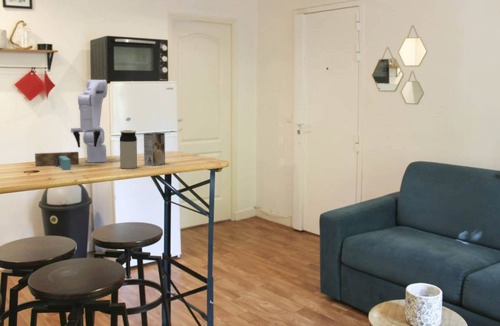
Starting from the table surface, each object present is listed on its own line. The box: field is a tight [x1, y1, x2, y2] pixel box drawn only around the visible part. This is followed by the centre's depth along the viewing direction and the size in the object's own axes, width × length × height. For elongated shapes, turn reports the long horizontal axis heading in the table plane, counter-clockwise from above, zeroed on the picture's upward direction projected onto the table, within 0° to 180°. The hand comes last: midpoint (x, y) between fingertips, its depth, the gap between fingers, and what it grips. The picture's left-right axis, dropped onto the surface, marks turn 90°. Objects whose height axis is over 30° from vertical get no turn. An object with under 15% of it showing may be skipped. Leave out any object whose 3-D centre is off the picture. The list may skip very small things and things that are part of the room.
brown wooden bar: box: [34, 151, 80, 168], centre depth 253 cm, size 20×6×6 cm, turn 118°
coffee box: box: [143, 132, 166, 167], centre depth 262 cm, size 9×6×16 cm
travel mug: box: [119, 129, 138, 170], centre depth 250 cm, size 8×8×18 cm
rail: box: [58, 156, 72, 171], centre depth 248 cm, size 3×15×5 cm, turn 28°
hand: (87, 146), depth 253 cm, fingers open, 7 cm apart
